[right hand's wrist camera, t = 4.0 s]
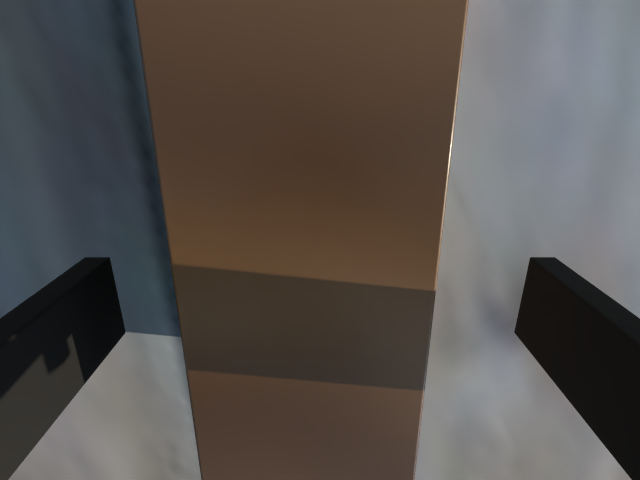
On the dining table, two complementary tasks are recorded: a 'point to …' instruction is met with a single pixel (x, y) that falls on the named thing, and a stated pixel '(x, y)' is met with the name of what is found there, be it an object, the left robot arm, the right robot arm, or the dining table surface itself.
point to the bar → (304, 222)
